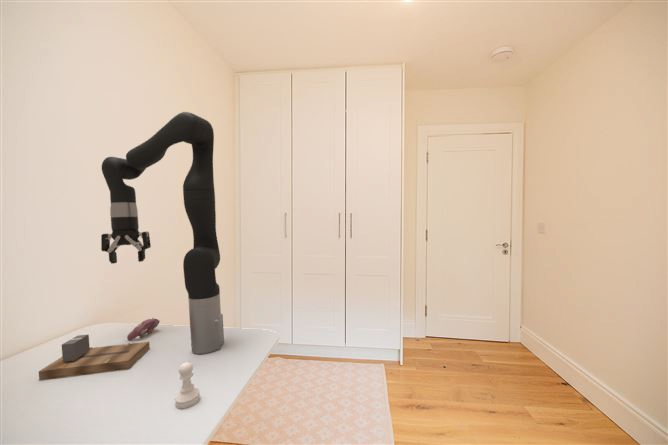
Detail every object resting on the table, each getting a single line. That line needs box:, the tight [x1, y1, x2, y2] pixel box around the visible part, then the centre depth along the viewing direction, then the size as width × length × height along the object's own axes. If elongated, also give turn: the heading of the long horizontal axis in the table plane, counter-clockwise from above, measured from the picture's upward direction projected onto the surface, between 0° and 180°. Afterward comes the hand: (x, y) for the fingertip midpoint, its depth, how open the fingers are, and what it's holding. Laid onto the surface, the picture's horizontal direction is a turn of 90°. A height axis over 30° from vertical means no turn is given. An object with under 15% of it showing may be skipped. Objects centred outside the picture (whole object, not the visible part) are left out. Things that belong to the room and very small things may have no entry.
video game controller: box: [126, 317, 161, 341], centre depth 101 cm, size 10×5×7 cm, turn 170°
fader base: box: [38, 341, 151, 381], centre depth 82 cm, size 22×12×3 cm, turn 100°
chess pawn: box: [174, 362, 201, 410], centre depth 63 cm, size 5×5×9 cm
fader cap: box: [61, 334, 90, 362], centre depth 81 cm, size 3×6×5 cm, turn 10°
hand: (127, 262), depth 95 cm, fingers open, 8 cm apart
